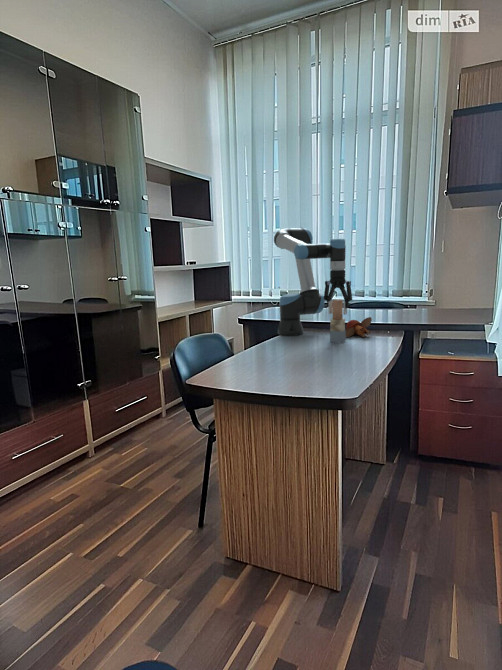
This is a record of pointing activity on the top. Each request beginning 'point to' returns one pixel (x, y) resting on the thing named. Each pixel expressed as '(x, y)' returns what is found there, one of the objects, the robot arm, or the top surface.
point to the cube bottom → (337, 336)
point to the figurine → (358, 327)
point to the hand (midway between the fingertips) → (337, 313)
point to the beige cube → (337, 325)
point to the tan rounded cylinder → (337, 309)
